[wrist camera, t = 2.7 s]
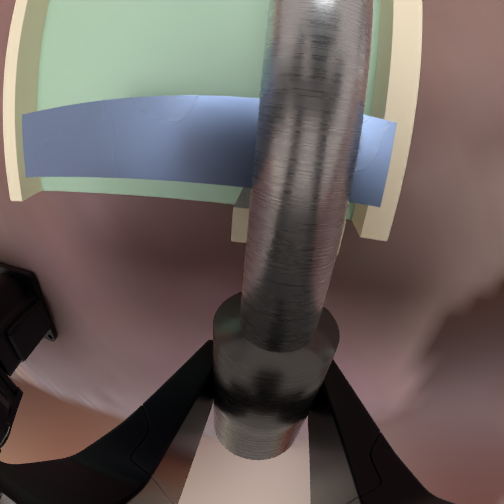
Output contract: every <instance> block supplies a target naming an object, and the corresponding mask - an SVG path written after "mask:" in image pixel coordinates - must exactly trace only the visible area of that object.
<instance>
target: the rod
mask: <svg viewBox="0 0 504 504" xmlns="http://www.w3.org/2000/svg"><path fill="white" fill-rule="evenodd" d="M372 25H373V0H269V8H268V18H267V28H266V38H265V48H264V58H263V68H262V78H261V88H260V98H248V97H233V96H207V95H172V96H146V97H131V98H120V99H110V100H101V101H93V102H86V103H79V104H72V105H66V106H61V107H55V108H50V109H45V110H41V111H36V112H32V113H27V114H23V115H22V136H23V153H24V164H25V174H26V177H100V178H128V179H148V180H164V181H179V182H192V183H204V184H215V185H225V186H235V187H244V188H251V194H250V205H249V217H248V228H247V239H246V250H245V262H244V273H243V285H242V292H240V293H238V294H235V295H233V296H232V297H230V298H228V299H227V300H226V301H225V302H223V303H222V305H221V306H220V307H219V308H218V310H217V312H216V314H215V316H214V321H213V387H214V428H215V432H216V435H217V437H218V439H219V441H220V442H221V443H222V445H223V446H224V447H225V448H226V449H228V450H229V451H230V452H232V453H234V454H235V455H237V456H240V457H243V458H246V459H252V460H264V459H270V458H273V457H276V456H278V455H280V454H282V453H283V452H285V451H286V450H287V449H289V448H290V446H291V445H292V444H293V443H294V441H295V439H296V437H297V435H298V433H299V431H300V429H301V427H302V425H303V423H304V421H305V419H306V417H307V415H308V413H309V411H310V409H311V407H312V405H313V403H314V400H315V398H316V396H317V394H318V392H319V389H320V387H321V385H322V383H323V380H324V378H325V376H326V373H327V371H328V369H329V366H330V364H331V362H332V359H333V357H334V354H335V352H336V349H337V347H338V343H339V337H340V336H339V329H338V325H337V323H336V321H335V319H334V318H333V316H332V315H331V313H330V312H329V311H328V310H327V309H326V308H325V307H324V306H323V305H324V301H325V298H326V294H327V290H328V287H329V283H330V279H331V276H332V272H333V268H334V264H335V260H336V256H337V252H338V248H339V244H340V239H341V235H342V231H343V226H344V222H345V217H346V213H347V208H348V203H349V202H352V203H358V204H364V205H369V206H375V207H380V206H381V202H382V197H383V193H384V189H385V184H386V179H387V175H388V170H389V165H390V160H391V154H392V149H393V143H394V137H395V131H396V125H397V123H396V122H392V121H388V120H384V119H380V118H376V117H372V116H368V115H364V110H365V102H366V94H367V85H368V76H369V66H370V54H371V41H372Z"/></svg>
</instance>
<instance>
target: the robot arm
mask: <svg viewBox="0 0 504 504" xmlns="http://www.w3.org/2000/svg"><path fill="white" fill-rule="evenodd" d="M42 338H46V339H48V340H51V341H55V340H56V339H57V334H56V332H55V330H54V327H53V325H52V322H51V320H50V317H49V315H48V312H47V309H46V307H45V304H44V301H43V298H42V295H41V293H40V290H39V287H38V283H37V280H36V278H35V276H34V275H33V274H32V273H31V272H28V271H25V270H21V269H18V268H14V267H11V266H7V265H4V264H1V263H0V448H1V447H2V446H3V445H4V444H5V442H6V440H7V439H8V437H9V434H10V431H11V428H12V424H13V421H14V418H15V415H16V412H17V409H18V406H19V403H20V400H21V398H22V395H23V392H22V390H21V389H20V388H19V387H17V386H16V385H15V384H14V383H13V381H12V380H11V379H10V378H9V377H8V375H9V376H11V375H12V374H13V372H14V371H15V369H16V368H17V367H18V365H19V364H20V363H21V361H22V362H24V361H25V360H26V359H27V358H28V356H29V355H30V354H31V352H32V351H33V350H34V349H35V347H36V346H37V345H38V343H39V342H40V341H41V340H42ZM213 400H214V387H213V340H208V341H207V342H206V343H205V344H204V345H203V346H202V347H201V348H200V349H199V350H198V351H197V352H196V353H195V354H194V355H193V356H192V357H191V358H190V359H189V360H188V361H187V362H186V363H185V364H184V365H183V366H182V367H181V368H180V369H179V370H178V371H177V372H176V373H175V374H174V375H172V376H171V377H170V378H169V379H168V380H167V381H166V382H165V383H164V384H163V385H162V386H161V387H160V388H159V389H158V390H157V391H156V392H155V393H154V394H153V395H152V396H151V397H150V398H149V399H148V400H146V401H145V402H144V403H143V406H142V405H141V406H140V407H139V408H138V409H137V410H136V411H135V412H134V413H133V414H131V415H130V416H129V417H128V418H127V419H126V420H125V421H123V422H122V423H121V424H120V425H118V426H117V427H116V428H114V429H113V430H111V431H110V432H109V433H107V434H106V435H104V436H103V437H101V438H100V439H99V440H97V441H96V442H94V443H93V444H91V445H90V446H88V447H87V448H85V449H84V450H82V451H81V452H79V453H77V454H75V455H73V456H70V457H66V458H62V459H56V460H50V461H42V462H35V463H26V464H7V463H4V462H1V461H0V504H178V502H179V499H180V496H181V494H182V491H183V487H184V485H185V482H186V479H187V477H188V474H189V471H190V468H191V465H192V462H193V459H194V457H195V454H196V451H197V448H198V445H199V442H200V439H201V437H202V434H203V431H204V428H205V425H206V422H207V419H208V416H209V413H210V411H211V407H212V404H213ZM308 432H309V454H310V488H311V489H310V490H311V504H454V503H452V502H449V501H446V500H443V499H441V498H438V497H436V496H434V495H433V494H432V493H430V492H429V491H428V490H427V489H426V488H425V487H424V486H423V485H422V484H421V483H420V482H419V481H418V479H417V478H416V477H415V476H414V475H413V474H412V472H411V471H410V470H409V469H408V468H407V467H406V465H405V464H404V463H403V462H402V461H401V459H400V458H399V457H398V456H397V454H396V453H395V452H394V451H393V449H392V447H391V446H390V445H389V443H388V442H387V440H386V439H385V437H384V436H383V435H382V433H380V430H379V428H378V427H377V425H376V424H375V422H374V420H373V419H372V417H371V416H370V414H369V413H368V411H367V410H366V408H365V407H364V405H363V404H362V402H361V401H360V399H359V398H358V396H357V395H356V393H355V392H354V390H353V389H352V387H351V386H350V384H349V383H348V381H347V379H346V378H345V376H344V375H343V373H342V372H341V370H340V369H339V367H338V366H337V364H336V363H335V361H334V360H333V359H332V362H331V364H330V366H329V369H328V371H327V373H326V376H325V378H324V380H323V383H322V385H321V387H320V389H319V392H318V394H317V396H316V398H315V400H314V403H313V405H312V407H311V409H310V411H309V413H308ZM0 452H1V449H0Z"/></svg>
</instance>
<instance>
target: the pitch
mask: <svg viewBox="0 0 504 504" xmlns="http://www.w3.org/2000/svg"><path fill="white" fill-rule="evenodd" d="M268 8H269V0H16V4H15V8H14V12H13V17H12V22H11V27H10V33H9V39H8V46H7V53H6V62H5V73H4V88H3V135H4V151H5V162H6V171H7V180H8V187H9V193H10V199H11V201H24V200H26V199H27V198H29V197H31V196H33V195H35V194H37V193H39V192H41V191H69V192H90V193H108V194H123V195H138V196H151V197H163V198H175V199H186V200H196V201H206V202H216V203H225V204H234V206H233V217H232V232H231V241H233V242H241V243H246V239H247V228H248V217H249V205H250V194H251V188H244V187H235V186H225V185H215V184H204V183H192V182H179V181H164V180H148V179H128V178H100V177H26V174H25V164H24V153H23V136H22V115H23V114H27V113H32V112H36V111H41V110H45V109H50V108H55V107H61V106H66V105H72V104H79V103H86V102H93V101H101V100H110V99H120V98H131V97H146V96H172V95H207V96H233V97H248V98H260V88H261V78H262V68H263V58H264V48H265V38H266V28H267V18H268ZM421 47H422V0H373V25H372V41H371V54H370V66H369V76H368V85H367V94H366V102H365V110H364V115H368V116H372V117H376V118H380V119H384V120H388V121H392V122H396V123H397V125H396V131H395V137H394V143H393V149H392V154H391V160H390V165H389V170H388V175H387V179H386V184H385V189H384V193H383V197H382V202H381V206H380V207H375V206H369V205H364V204H358V203H352V202H349V203H348V208H347V213H346V217H345V219H346V220H352V222H353V224H354V226H355V228H356V230H357V232H358V234H359V236H360V237H362V238H368V239H375V240H381V241H387V240H388V237H389V233H390V230H391V226H392V222H393V219H394V215H395V211H396V207H397V203H398V199H399V195H400V191H401V187H402V182H403V178H404V173H405V169H406V164H407V159H408V154H409V148H410V143H411V137H412V131H413V125H414V118H415V111H416V103H417V95H418V86H419V76H420V64H421ZM345 225H346V221H345V222H344V226H343V231H342V235H341V239H340V244H339V248H338V252H337V255H338V254H339V250H340V246H341V242H342V238H343V233H344V229H345Z"/></svg>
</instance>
